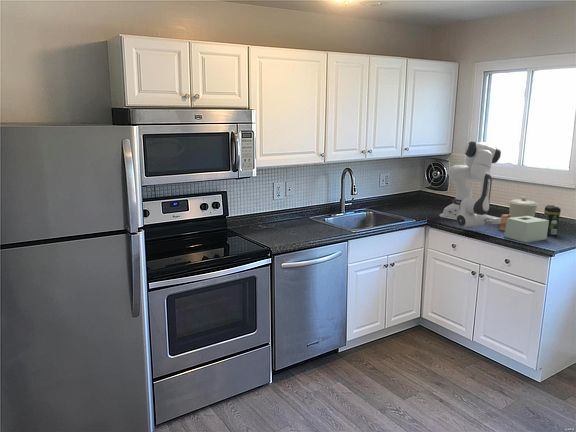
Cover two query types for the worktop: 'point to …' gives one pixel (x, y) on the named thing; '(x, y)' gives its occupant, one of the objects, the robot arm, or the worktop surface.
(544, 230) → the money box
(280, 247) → the worktop surface
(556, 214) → the coffee jar
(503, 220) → the block
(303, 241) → the worktop surface
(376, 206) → the worktop surface
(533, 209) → the canister
